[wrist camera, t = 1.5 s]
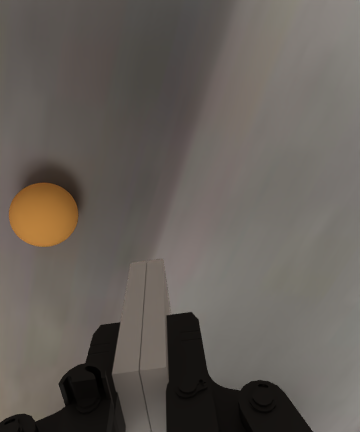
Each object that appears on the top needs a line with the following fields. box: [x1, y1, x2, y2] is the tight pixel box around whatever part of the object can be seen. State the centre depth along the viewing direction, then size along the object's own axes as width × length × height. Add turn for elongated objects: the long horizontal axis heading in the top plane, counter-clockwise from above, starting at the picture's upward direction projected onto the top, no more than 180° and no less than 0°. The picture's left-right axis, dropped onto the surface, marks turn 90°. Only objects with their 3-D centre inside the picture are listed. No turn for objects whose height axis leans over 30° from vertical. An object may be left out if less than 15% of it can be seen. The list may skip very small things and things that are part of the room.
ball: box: [9, 183, 78, 247], centre depth 28 cm, size 6×6×6 cm
